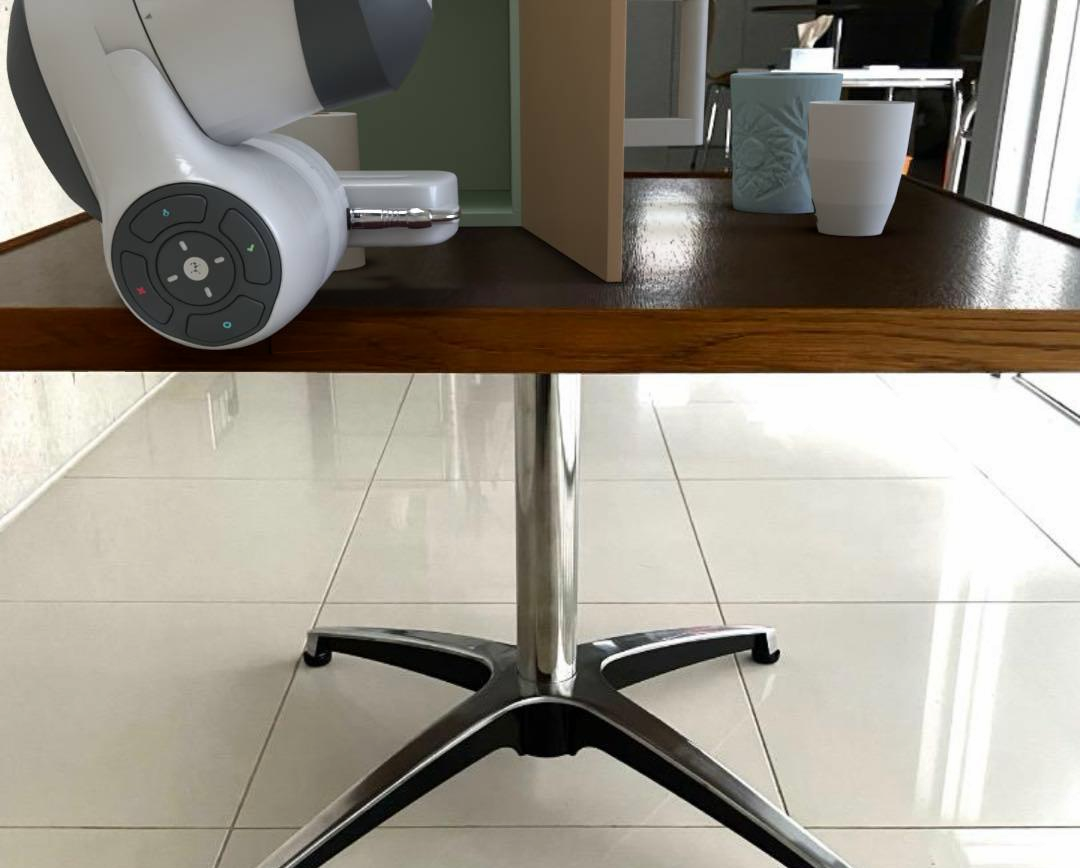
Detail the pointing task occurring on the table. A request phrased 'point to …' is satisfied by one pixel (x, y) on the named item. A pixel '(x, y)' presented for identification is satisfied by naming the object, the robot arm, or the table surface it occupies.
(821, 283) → the table surface
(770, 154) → the embossed blue planter
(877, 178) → the cup
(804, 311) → the table surface
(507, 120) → the cupboard
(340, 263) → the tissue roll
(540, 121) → the cupboard door
